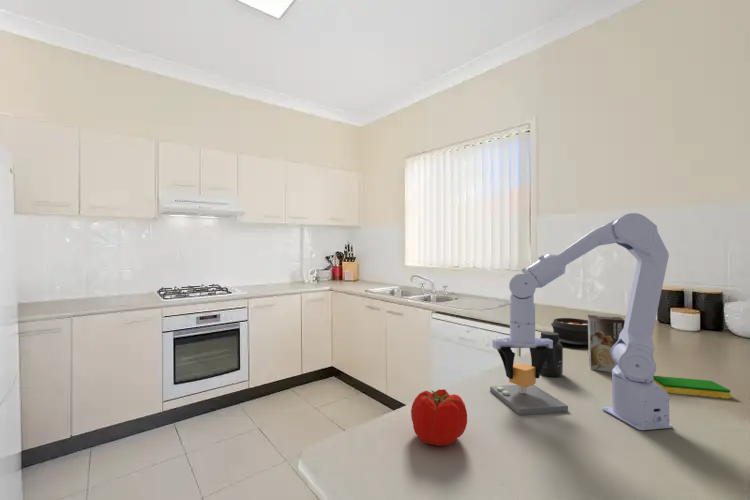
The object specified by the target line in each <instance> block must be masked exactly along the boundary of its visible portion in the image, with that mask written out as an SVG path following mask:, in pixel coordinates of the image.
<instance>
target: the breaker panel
mask: <svg viewBox="0 0 750 500" xmlns="http://www.w3.org/2000/svg"><path fill="white" fill-rule="evenodd" d="M489 392H490V393H492V394H493V395H495V397H497V398H498V399H499V400H500V401H502V403H504V404H505V405H507V406H508V407H509V408H510V409H511V410H512V411H514V412H515V413H516V414H517V415H518V416H523V415H534V414H535V415H536V414H549V413H551V414H552V413H562V412H563V413H565V412H569V405H567V404H566V403H564V402H562V401H561V400H559V399H558V398H557V397H554V396H553V395H552V394H550V393H549V392H546V390H543V389H542V388H540V387H539V386H537V385H536V384H533V385H531V386H529V387H527V393H523V394H521V393H519V392H518V385H517V384H511V385H510V384H509V385H506V384H505V385H494V386H489Z"/></svg>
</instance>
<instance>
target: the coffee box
mask: <svg viewBox="0 0 750 500" xmlns="http://www.w3.org/2000/svg"><path fill="white" fill-rule="evenodd" d="M587 320H588V345H587V346H588V349H587V350H588V352H587V353H588V366H589V368H590V370H591V371H598V372H599V371H600V372H607V373H612V369H613V368H614V367H615V366H616V364H617V363H616V362H615V361H614V360H613V359H612V356H611V349H612V347H613V345H614V344H615V343H616V342H617V341H618V339H619V334H620V333H621V331H622V330H623V328H624V323H625V319H624V318H622V317H621V316H611V315H610V316H609V315H608V316H607V315H594V314H587Z"/></svg>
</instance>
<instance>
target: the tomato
mask: <svg viewBox="0 0 750 500" xmlns="http://www.w3.org/2000/svg"><path fill="white" fill-rule="evenodd" d="M430 391H431V392H430ZM410 414H411V416H410V417H411V421H412V422H411V423H412V427H413V430H414V434H416V436H417V437H418V438H419V440H420V441H421V442H423V443H425V444H426V445H432V446H438V447H445V446H448V445H452V444H453V443H454V442H455V441H456V440H457V439H459V438H460V437H461V436H462V435H463V434H464V432H465V430H466V428H467V424H468V413H467V408H466V404H465V402H464V400H463V399H462V398H461V396H460V395H458V394H455V393H454V394H450V393H449V392H448V391H447V390H446V389H437V390H435V391H434V390H432V389H431V390H429V391H428V390H424V391H421V392H420V393H418V395H417V396H416V397H415V398H414V400H413V402H412V406H411V409H410Z"/></svg>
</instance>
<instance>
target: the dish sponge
mask: <svg viewBox="0 0 750 500" xmlns="http://www.w3.org/2000/svg"><path fill="white" fill-rule="evenodd" d="M653 377H654V381H655V383H656V384H657V385H659V386H660V387H662V388H664V389H665V390H666V391H667V393H668V394H670V393H671V394H677V395H678V394H680V395H687V394H688V395H689V396H690V395H691V396H697V395H701V396H700V397H707V396H712V397H711V398H718V397H721V398H720V399H728V398H730V399H731V398H732V397H731V389H728V388H726V387H725V386H722V385H721V384H718V383H716V382H715V381H714V380H709V379H708V380H706V379H696V378H684V377H672V376H661V375H653ZM688 395H687V396H688Z"/></svg>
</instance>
